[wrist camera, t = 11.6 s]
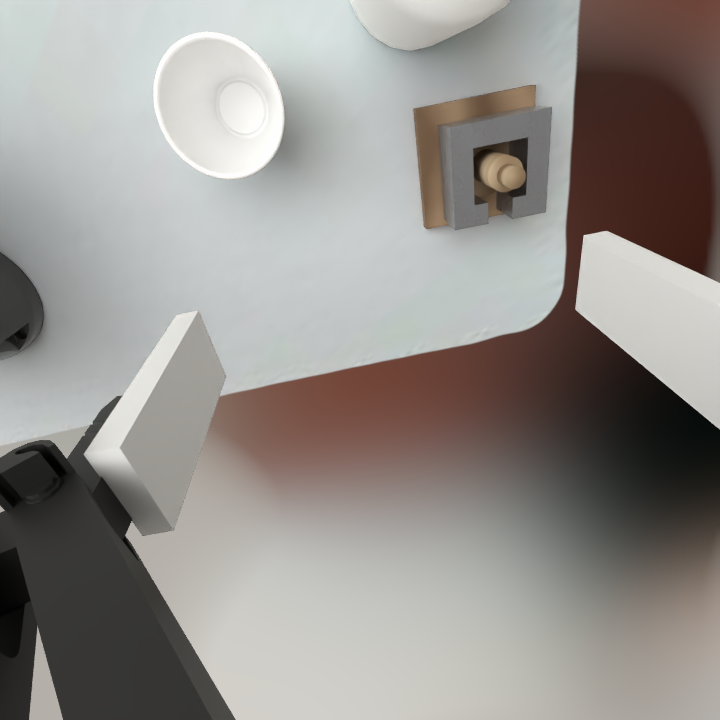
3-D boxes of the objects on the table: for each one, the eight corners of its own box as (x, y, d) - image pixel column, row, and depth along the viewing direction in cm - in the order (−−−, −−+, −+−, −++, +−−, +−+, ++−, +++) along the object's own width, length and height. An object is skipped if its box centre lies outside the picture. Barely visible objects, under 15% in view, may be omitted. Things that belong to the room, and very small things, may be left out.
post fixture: (423, 225, 50) (450, 258, 39) (413, 108, 43) (441, 112, 33) (525, 205, 49) (577, 233, 39) (529, 85, 43) (593, 81, 33)
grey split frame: (526, 202, 45) (545, 212, 41) (443, 219, 45) (455, 230, 42) (530, 106, 40) (551, 106, 37) (437, 125, 41) (449, 127, 37)
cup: (241, 183, 46) (221, 204, 36) (168, 95, 41) (124, 95, 32) (312, 120, 43) (310, 126, 34) (243, 20, 39) (218, -5, 29)
